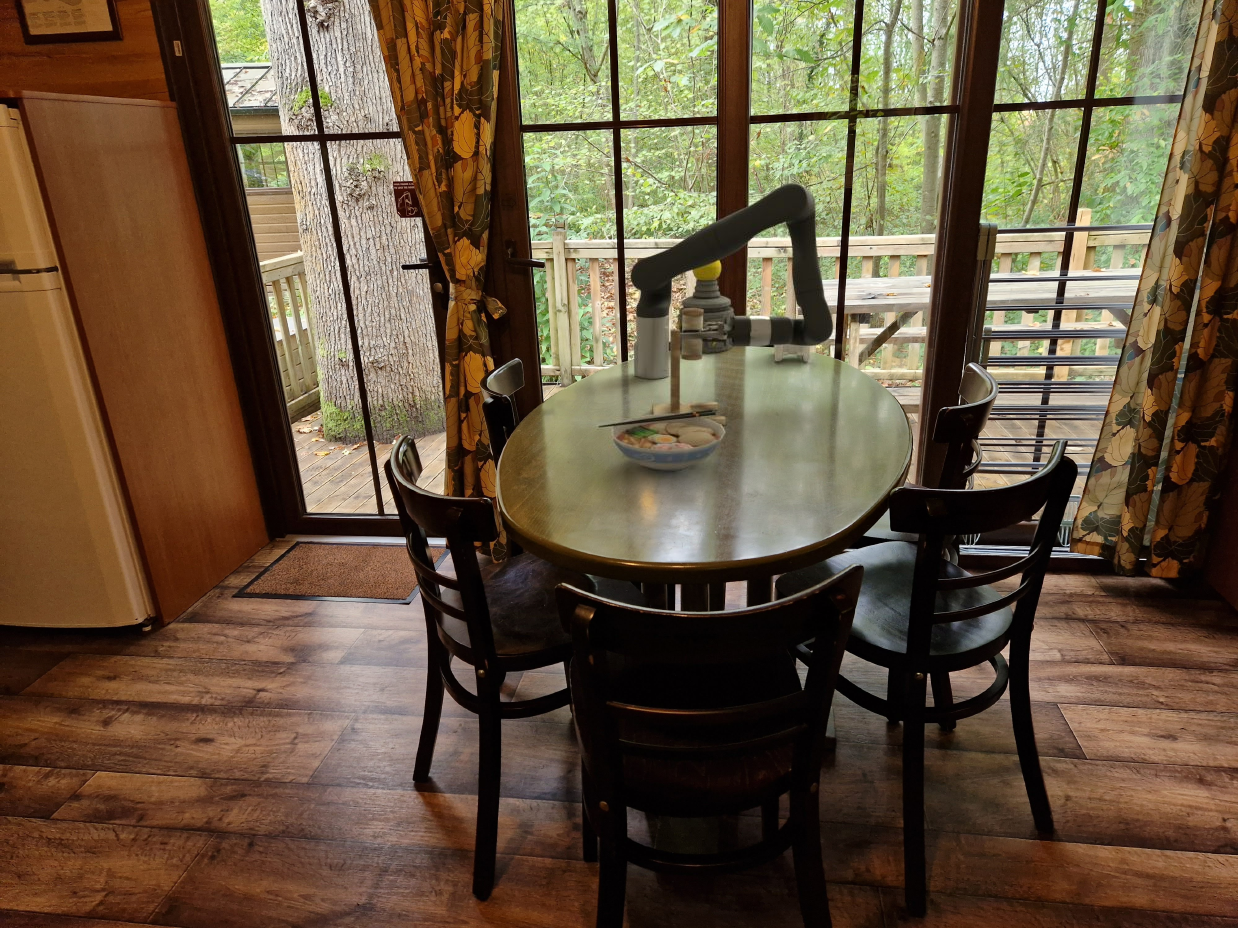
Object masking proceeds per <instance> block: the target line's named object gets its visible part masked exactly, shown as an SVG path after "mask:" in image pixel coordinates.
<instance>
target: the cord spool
mask: <svg viewBox="0 0 1238 928" xmlns="http://www.w3.org/2000/svg"><path fill="white" fill-rule="evenodd" d="M703 313H704V310H703V309H700V308H685V309H682V314H683V320H682V333H683V330H696V329H698V331H699V329H703ZM680 359H682V360H684V361H698V360H702V359H703V353H702V340H698V339H682V349H681V352H680Z"/></svg>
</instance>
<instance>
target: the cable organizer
mask: <svg viewBox="0 0 1238 928" xmlns="http://www.w3.org/2000/svg"><path fill="white" fill-rule="evenodd" d="M773 350H774V360H775V361H776V362H781V361H782V360H783V356H787V357H786V358H788V357H789V355H797V358H798V357H799V356H802V359H803V361H804V362H805V363H806V362H808V361H809V360H810V356H811V355H810V354H811V346H799V345H790V344H784V345H773Z"/></svg>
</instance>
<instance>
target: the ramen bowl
mask: <svg viewBox="0 0 1238 928" xmlns="http://www.w3.org/2000/svg"><path fill="white" fill-rule="evenodd" d="M716 413H717V412H716V411H714V410H712V409H709V410H703V411H692V412H689V413H682V414H654V415H653V414H647V415H642V416H636V417H630V418H627V419H625V420H622V421H619V422H615V423H609V424H603V425H602V424H601V425H598V429H599V428H607V427H609V428H610V427H612V428H611V429H610V434H611V438H612V440H613V442H614V444H615V446H616V447H617V448H618V450H619V451H620V452H621V453H622V454H623V456H625V457H626V458H628V459H630V460H631V461H632V462H634V463H636V464H638V465H639V466H642V467H646V468H650V469H652V470H654V471H658V472H664V473H665V472H667V473H668V472H676V471H681V470H683V469H686V468H689V467H693V466H695V465H698V464H699V463H701V462H704V461H705V460H707V459H708V458H709V457H710V456H711V455H713V453H714V452H715V451H716V449H717V448H718V446H719V444H720V443H721V441H722V440H723V438H724V436H725V434H726V430H725V428H724V426H723V425H721V424H719V423H717V422H714V421H712V420H710V419H707V418H702V417H713V416H716V415H717V414H716Z"/></svg>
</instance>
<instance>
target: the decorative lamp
mask: <svg viewBox="0 0 1238 928" xmlns="http://www.w3.org/2000/svg"><path fill="white" fill-rule="evenodd" d="M721 272H722V264H721V262H720V260H718V261H716V262H714V263H711V264H708V265H706V266H703V267H700V268H697V269H694V270H692V274H693V277H695V279H696V282H695V286H694V287H693V288H694V289H693V290H694V291H693V293H692V295H691V296H687V297H685V298H683V299H682V301H681V305H682V307H680V309H679V310H678V315H677V325H676V326H675V327H676V328H675V329H679V330H680V326H681V325H682V320H683V314H682V309H685V308H700V309H703V310H704V313H703V322H715V321H718V322H722V323H723V324H726V325H729V323H730V318H731V317H732V316H736V315H735V313H734V308H733V307H732V306H731V305H732V303H731V299H730V298H729V297H726V296H723V295H721V293H720V292H721V291H719V289H720V288H719V285H718V277H720V275H721ZM703 329H704V327H703ZM732 348H733V347H732V346H731V345H730V342H729V339H727V342H725V343H723V342H703V341H702V354H711V353H713V354H714V353H722V352H726V351H729V350H731V349H732ZM680 350H682V339H680Z"/></svg>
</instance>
